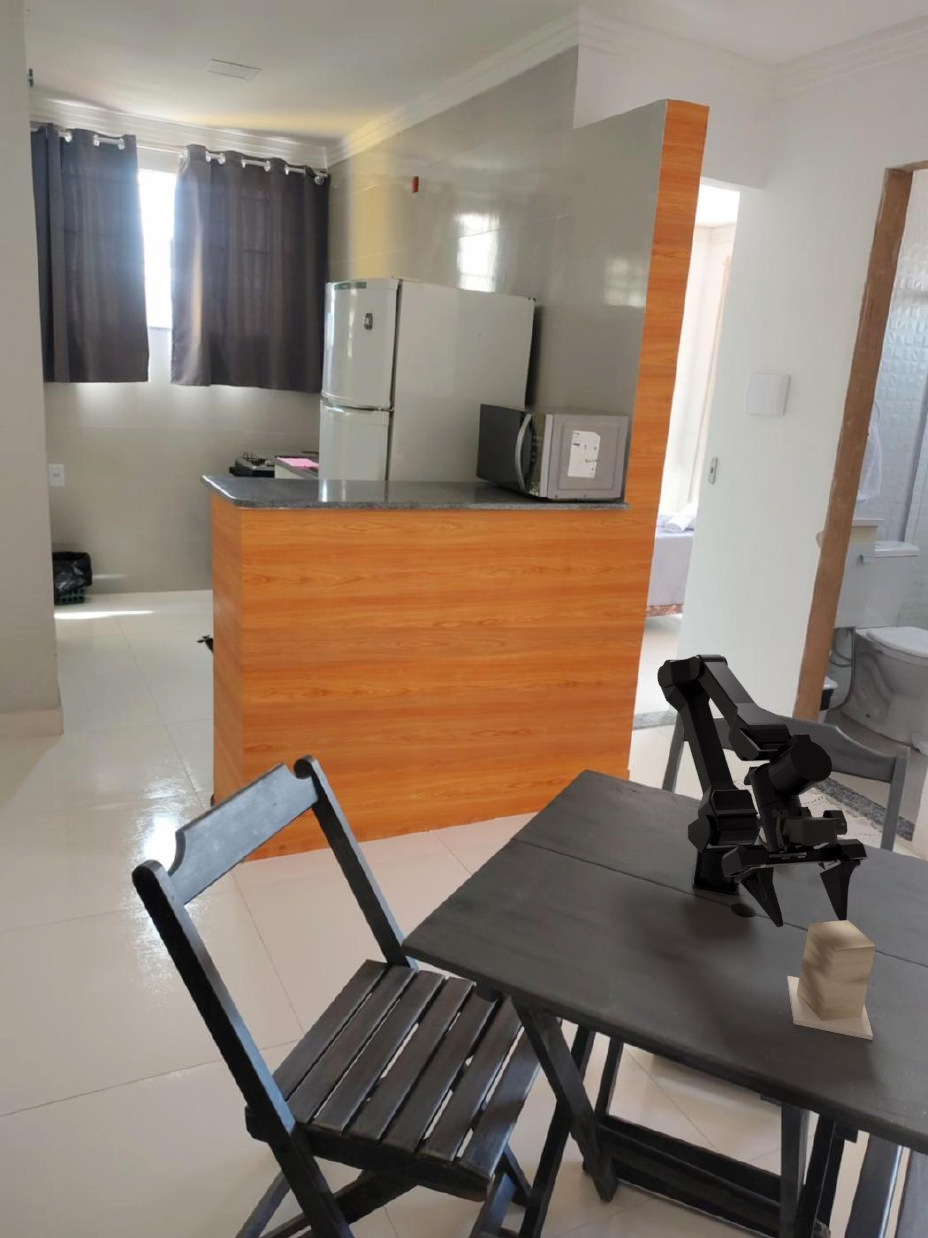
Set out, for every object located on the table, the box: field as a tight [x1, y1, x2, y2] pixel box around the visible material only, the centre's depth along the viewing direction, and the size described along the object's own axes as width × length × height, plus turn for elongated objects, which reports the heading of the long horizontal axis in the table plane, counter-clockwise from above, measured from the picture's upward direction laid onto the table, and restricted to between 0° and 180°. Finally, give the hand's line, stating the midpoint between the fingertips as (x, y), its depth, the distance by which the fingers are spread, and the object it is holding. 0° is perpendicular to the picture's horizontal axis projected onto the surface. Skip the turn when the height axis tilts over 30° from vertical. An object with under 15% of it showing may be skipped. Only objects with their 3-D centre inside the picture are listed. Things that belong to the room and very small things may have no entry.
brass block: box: [797, 919, 877, 1021], centre depth 116 cm, size 6×6×10 cm
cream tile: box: [786, 975, 874, 1041], centre depth 117 cm, size 9×9×1 cm
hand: (812, 924), depth 121 cm, fingers open, 9 cm apart
